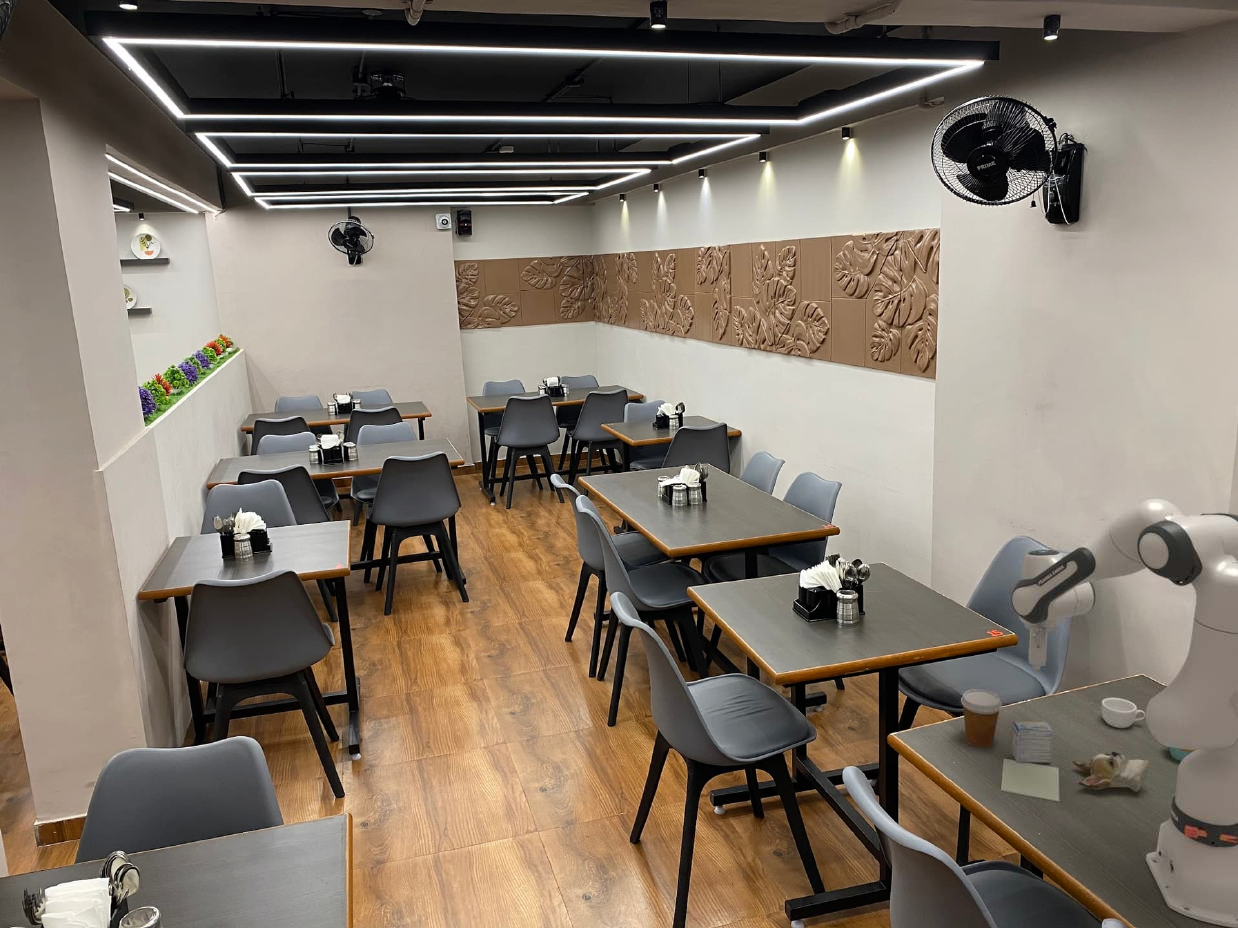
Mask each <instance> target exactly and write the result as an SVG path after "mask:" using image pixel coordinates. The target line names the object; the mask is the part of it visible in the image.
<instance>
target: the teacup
mask: <svg viewBox="0 0 1238 928" xmlns="http://www.w3.org/2000/svg"><path fill="white" fill-rule="evenodd" d="M1140 713H1142V714H1143V716H1142V717H1137V716H1138V715H1139V714H1140ZM1101 715H1102V718H1103V720H1104V721H1105V722H1106V724H1107V725H1109V726H1111V727H1113V728H1117V729H1126V728H1128V727H1130V726H1131V725H1133V724H1134V723H1135V722H1138V721H1142V720H1144V719H1146V711H1143V710H1141V709H1138V708H1137V706H1136V704H1135V703H1134V702H1131V701H1130V700H1127V699H1125V698H1120V697H1106V698H1103V699H1102V700H1101Z"/></svg>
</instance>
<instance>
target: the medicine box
mask: <svg viewBox="0 0 1238 928" xmlns="http://www.w3.org/2000/svg"><path fill="white" fill-rule="evenodd" d="M1012 723H1013V724H1012V739H1011V754H1012V756H1013V758H1014V760H1015V761H1017V762H1027V763H1042V764H1043V763H1046V764H1047V763H1049V764H1051V763H1052V750H1053V736H1054V730H1053V729H1052V728H1051V726H1050V725H1049V724H1048V723H1047V722H1046V721H1012Z"/></svg>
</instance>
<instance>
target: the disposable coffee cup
mask: <svg viewBox="0 0 1238 928" xmlns="http://www.w3.org/2000/svg"><path fill="white" fill-rule="evenodd" d="M960 702H961V704H962V709H963V719H964V731H965V740H966V741H967V743H968V744H970V745H971V746H974V747H979V748H988V747H991V746H992V745H993V744H994V739H995V733H996V729H997V724H998V719H999V713H1000V711H1001V708H1002V707H1003V704H1002V703H1003V702H1002V701H1001V699H1000V697H999V695H998V694H996V693H994V692H992V691H989V690H986V689H985V690H984V689H977V688H975V689H969V690H967V691H964V693H963V695H962V697H961V699H960Z"/></svg>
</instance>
